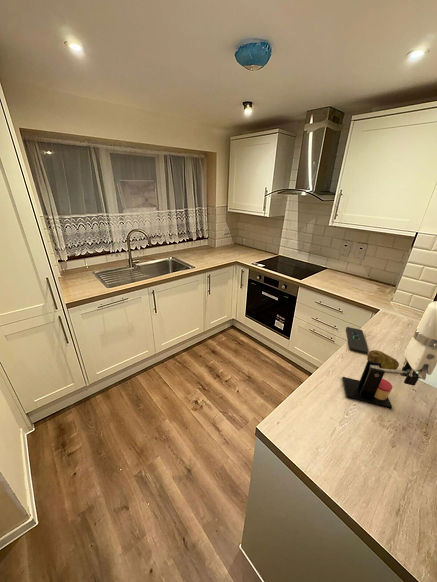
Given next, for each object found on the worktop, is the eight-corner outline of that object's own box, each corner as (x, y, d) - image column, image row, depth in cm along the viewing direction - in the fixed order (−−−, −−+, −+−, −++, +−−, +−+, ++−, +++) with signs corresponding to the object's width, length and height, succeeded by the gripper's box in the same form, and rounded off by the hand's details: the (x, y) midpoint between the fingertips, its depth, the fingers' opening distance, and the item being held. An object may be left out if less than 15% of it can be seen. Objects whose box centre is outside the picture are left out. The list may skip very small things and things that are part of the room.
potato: (399, 379, 98) (406, 364, 95) (364, 369, 103) (370, 354, 100) (395, 366, 105) (401, 352, 102) (363, 357, 110) (368, 343, 106)
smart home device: (362, 329, 128) (369, 351, 111) (361, 332, 129) (368, 354, 112) (346, 326, 131) (349, 347, 114) (345, 328, 131) (348, 350, 114)
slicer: (382, 388, 94) (395, 361, 88) (391, 409, 85) (405, 381, 79) (341, 378, 98) (351, 352, 92) (345, 397, 89) (356, 370, 83)
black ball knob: (413, 374, 84) (415, 367, 83) (417, 380, 81) (419, 373, 80) (368, 369, 89) (369, 362, 87) (370, 375, 86) (371, 368, 85)
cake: (384, 390, 91) (389, 379, 89) (389, 402, 86) (394, 391, 84) (368, 386, 93) (372, 376, 90) (371, 397, 88) (376, 387, 85)
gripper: (457, 357, 68) (430, 401, 76) (430, 327, 82) (409, 366, 90) (426, 351, 70) (403, 394, 78) (405, 322, 84) (387, 362, 92)
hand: (406, 379), depth 84 cm, fingers closed on black ball knob, 3 cm apart
